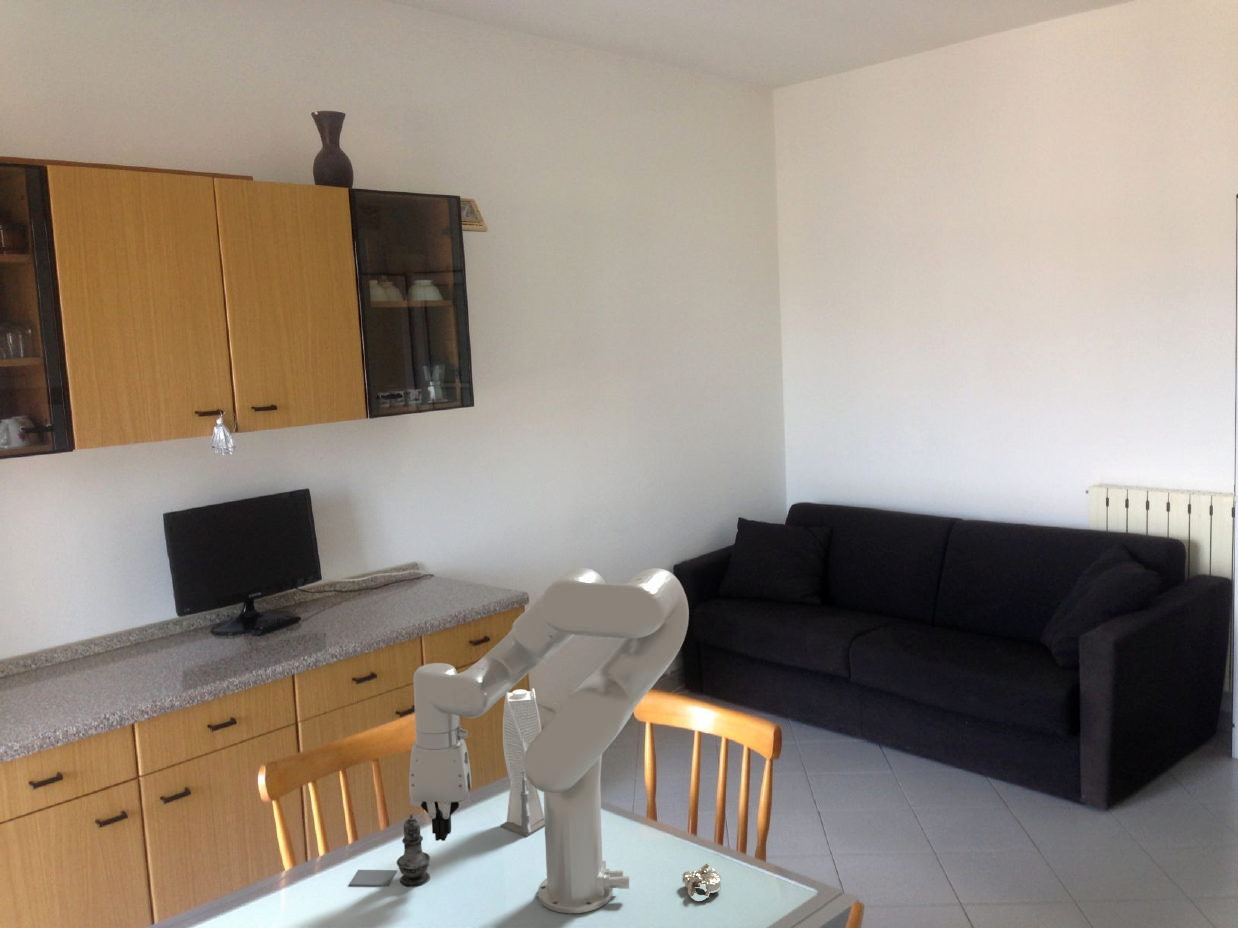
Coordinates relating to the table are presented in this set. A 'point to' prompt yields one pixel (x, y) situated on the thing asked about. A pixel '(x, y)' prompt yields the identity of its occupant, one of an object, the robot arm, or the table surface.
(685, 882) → the ornament
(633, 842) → the table surface
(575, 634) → the robot arm
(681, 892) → the table surface
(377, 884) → the grey flat slab
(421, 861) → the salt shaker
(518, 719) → the skyscraper
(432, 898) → the table surface
